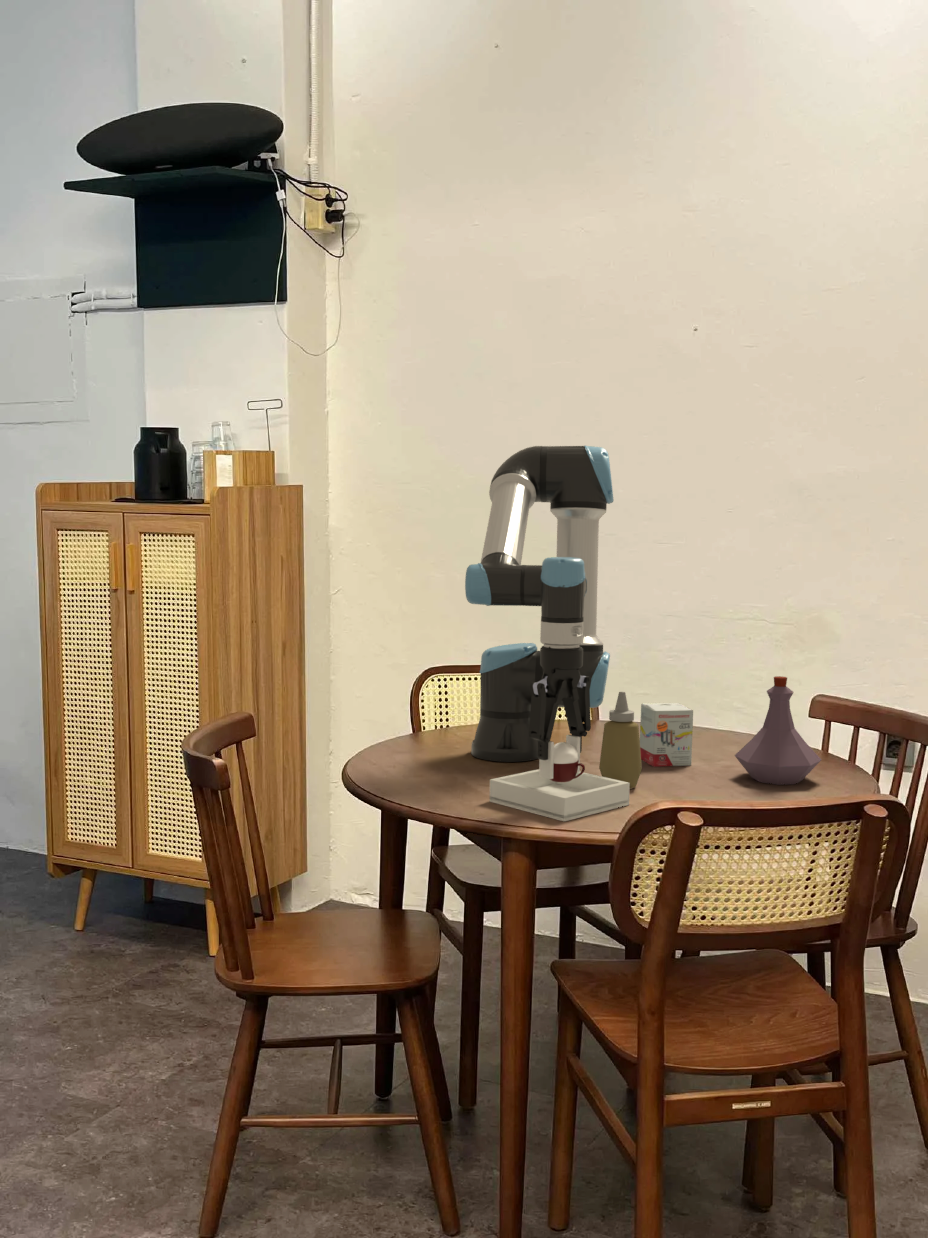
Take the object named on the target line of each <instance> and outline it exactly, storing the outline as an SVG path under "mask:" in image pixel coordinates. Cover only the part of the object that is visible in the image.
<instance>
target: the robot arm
mask: <svg viewBox="0 0 928 1238" xmlns="http://www.w3.org/2000/svg"><path fill="white" fill-rule="evenodd" d="M611 472H612V471H611V464H610V456H609V453H608V450H607V449H605V448H604V447H602V446H589V445H562V446H561V445H560V446H559V445H555V446H554V445H553V446H551V445H549V446H548V445H547V446H546V445H544V446H543V445H535V446H534V445H533V446H529V447H526V448H524V449H520V450H518V451H517V452H516V453H513V454H512V455H511V456H510V457H507V459H506V460H504V462H503V463H502V464H501V465H500V466H499V467H498V469H496V471H495V473H494V474H493V476H492V479H491V482H490V486H489V491H488V495H489V499H490V502H491V506H490V511H489V515H488V516H489V518H488V521H487V522H488V523H487V527H486V533H485V538H484V542H483V543H484V544H483V547H482V553H481V559H480V562H478V563H476V564H475V563H473V564H469V565H468V566H467V567H466V571H465V578H464V579H465V580H464V583H465V584H464V590H465V599H466V600H467V602H468V603H470V604H472V605H483V606H484V605H485V606H486V607H491V606H504V607H505V606H511V607H512V606H514V607H515V606H516V607H517V606H518V607H519V606H520V607H521V606H523V607H526V606H527V607H541V608H540V609H541V611H540V612H541V613H540V614H541V615H540V616H541V617H540V634H539V635H540V638H539V639H540V640H539V642H540V643H541V644H543V645H541V647H540V648H539V649H540V650H538V646H537V644H536V643H534V642H520V643H510V644H502V645H498V646H493V647H489V648H487V649H485V650H484V651H483V653H482V654H481V659H480V670H479V674H480V695H479V696H480V697H479V698H480V700H479V701H480V702H479V704H480V705H479V706H480V708H479V709H480V710H479V711H480V714H479V715H480V716H479V721H478V723H477V724H478V725H477V726H476V730H475V735H474V739H473V740H472V742H471V748H470V749H471V756H473V757H474V758H477V759H481V760H485V761H491V762H503V763H504V762H506V763H509V762H510V763H514V762H515V763H516V762H528V761H533V760H534V761H535V760H538V761H539V762H538V767H539V768H538V769H539V777H543V778H548V779H553V765H554V745H555V742H554V741H551V739H552V734H553V731H554V727H555V722H556V718H557V713H558V710H559V708H564V711H565V712H564V713H565V717H566V722H567V725H568V730H569V734H567V735H566V736H565V738H566V739H565V742H566V743H569V744H570V745H572V746H574V747H575V749H576V750H577V753H578V764H579V763H581V753H582V751H583V749H582V747H583V742H582V741H583V737H587V736H588V732H589V731H591V728H592V727H591V726H592V725H591V722H592V721H591V708H592V709H594V708H598V707H600V706H601V704H603V702H604V696H605V691H606V685H607V679H608V672H609V665H610V660H611V659H610V657H611V654H610V653H609V652H608V651H604V642H603V641H602V640H601V639H600V638H599V637H598V636H597V622H598V621H597V620H598V619H597V616H598V615H597V614H598V612H597V611H598V610H597V609H598V578H599V577H598V573H599V571H598V567H599V531H600V530H599V529H600V528H599V527H600V525H599V523H600V519H601V518H602V517H604V515H605V514H606V513H607V508H608V507H607V504H609V505H611V504H612V503H614V491H613V482H612V480H613V479H612V473H611ZM535 503H550V505H549V506H550V507H549V508H550V511H549V512H550V513H551V514H552V515H553V516H554V517H555V518H556V521H557V523H556V524H557V525H556V528H557V529H556V556H555V557H554V556H553V557H545V558H544V559H543V560H542V563H541V565H540V564H535V565H534V564H522V559H523V552H524V545H525V541H526V540H525V539H526V531H527V526H528V518H529V513H530V509H531V508H532V507H533V505H534V504H535ZM544 733H545V734H544ZM580 768H581V766H578V770H577V773H580V772H581V769H580Z"/></svg>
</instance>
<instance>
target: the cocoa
mask: <svg viewBox="0 0 928 1238" xmlns="http://www.w3.org/2000/svg"><path fill="white" fill-rule="evenodd" d="M544 734H545V733H544ZM578 766H580V767H581V770H580V772H581V773H579V774H578V775H577V776H576V774H577V770H578ZM585 771H586V766H585V764H584V763H581V762H580V763H579V764H578V753H577V750H576V749H575V747H574V746H572V745H570V744H569V743H566V741H564V742H563V741H560V742H557V743H554V765H553V779H550V780H551V781H554V782H569V781H571V780H572V779H575V778H577V777H579V776H580V775H582V774H583V772H584V773H585Z"/></svg>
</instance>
